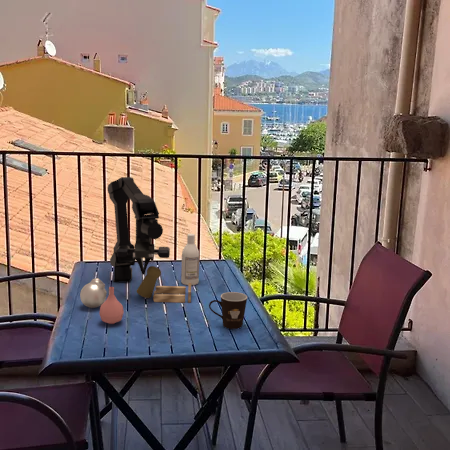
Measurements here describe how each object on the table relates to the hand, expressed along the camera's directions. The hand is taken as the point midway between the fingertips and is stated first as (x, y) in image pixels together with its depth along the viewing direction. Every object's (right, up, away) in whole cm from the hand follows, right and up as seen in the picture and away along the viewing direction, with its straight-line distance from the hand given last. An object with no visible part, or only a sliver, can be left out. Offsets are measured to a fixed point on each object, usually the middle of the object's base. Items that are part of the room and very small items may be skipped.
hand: (143, 274), depth 205 cm
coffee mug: (+31, -15, -21) cm, 40 cm away
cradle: (+10, -9, +3) cm, 14 cm away
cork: (0, -7, +2) cm, 8 cm away
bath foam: (+16, -5, +20) cm, 26 cm away
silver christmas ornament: (-16, -11, -10) cm, 21 cm away
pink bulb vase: (-7, -14, -23) cm, 28 cm away
